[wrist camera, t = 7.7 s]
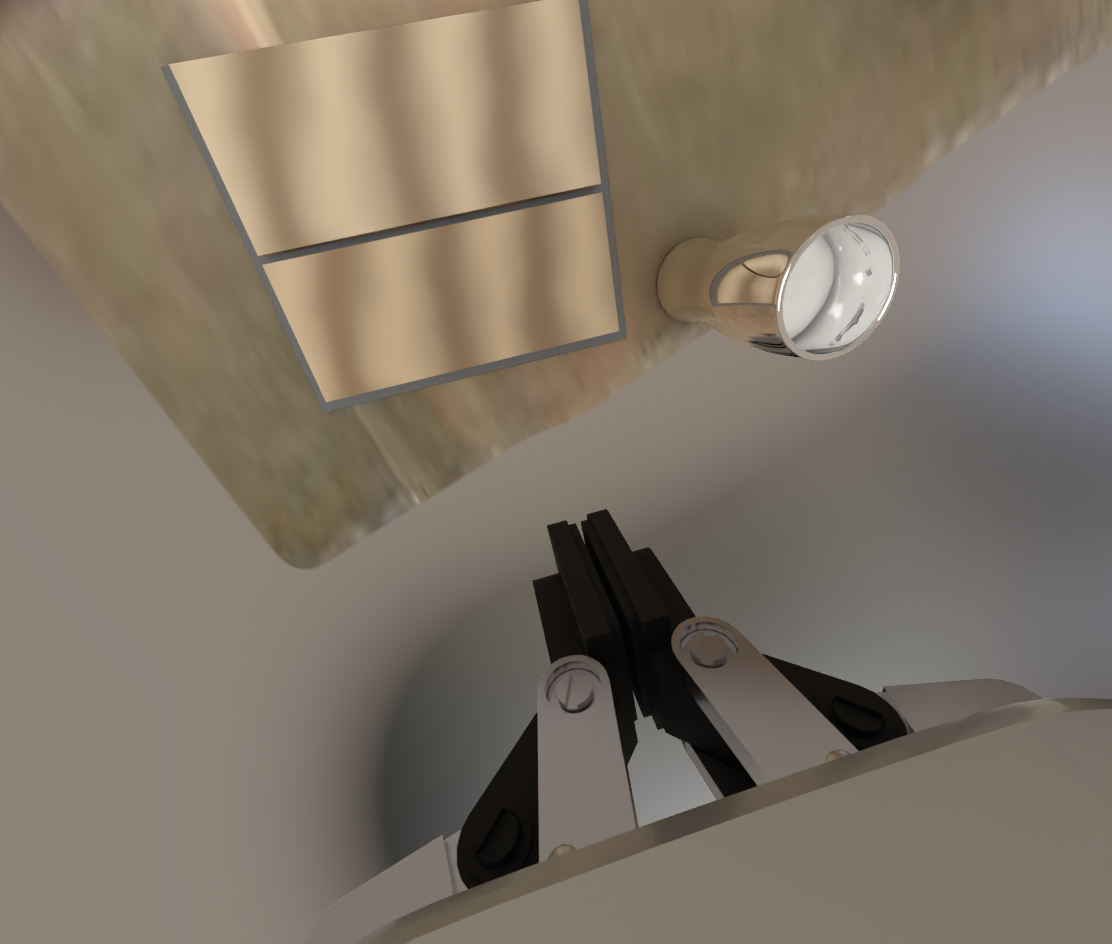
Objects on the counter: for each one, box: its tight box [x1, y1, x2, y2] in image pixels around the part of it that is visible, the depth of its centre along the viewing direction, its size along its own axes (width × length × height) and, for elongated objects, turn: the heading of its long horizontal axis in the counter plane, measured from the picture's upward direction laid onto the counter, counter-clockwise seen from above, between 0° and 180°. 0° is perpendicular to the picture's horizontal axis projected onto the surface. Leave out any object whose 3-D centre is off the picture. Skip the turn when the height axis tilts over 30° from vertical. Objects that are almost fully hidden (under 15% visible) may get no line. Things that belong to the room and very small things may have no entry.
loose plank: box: [262, 192, 619, 402], centre depth 30 cm, size 22×9×2 cm, turn 102°
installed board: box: [169, 0, 601, 256], centre depth 26 cm, size 22×9×2 cm, turn 102°
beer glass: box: [657, 214, 901, 361], centre depth 27 cm, size 7×7×15 cm
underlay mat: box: [161, 0, 627, 412], centre depth 29 cm, size 24×20×1 cm
